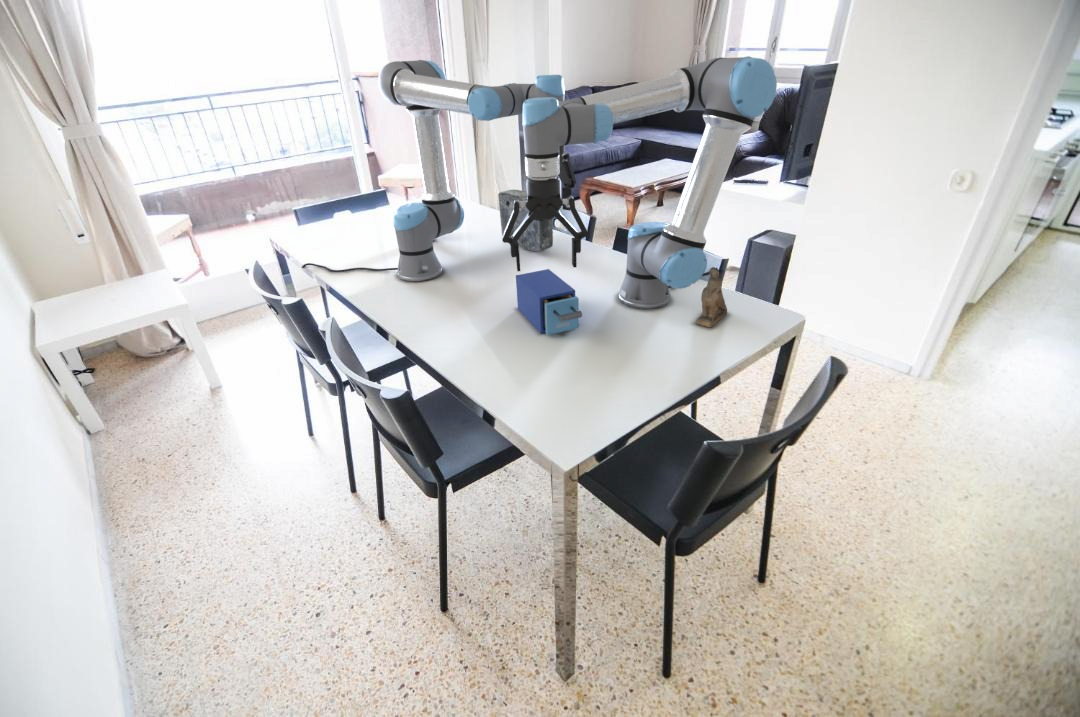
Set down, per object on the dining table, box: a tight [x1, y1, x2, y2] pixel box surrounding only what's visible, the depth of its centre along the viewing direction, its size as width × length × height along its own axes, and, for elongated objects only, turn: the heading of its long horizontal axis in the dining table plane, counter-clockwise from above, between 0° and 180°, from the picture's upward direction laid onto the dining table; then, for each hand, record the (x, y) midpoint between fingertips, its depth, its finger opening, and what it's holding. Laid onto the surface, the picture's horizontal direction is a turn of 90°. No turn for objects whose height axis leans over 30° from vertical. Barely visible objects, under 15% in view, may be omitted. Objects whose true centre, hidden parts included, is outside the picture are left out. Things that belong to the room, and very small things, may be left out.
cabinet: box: [515, 268, 576, 334], centre depth 141 cm, size 18×10×11 cm, turn 23°
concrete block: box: [497, 189, 554, 252], centre depth 191 cm, size 27×9×20 cm, turn 36°
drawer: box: [543, 294, 583, 336], centre depth 136 cm, size 22×9×9 cm, turn 23°
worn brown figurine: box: [695, 266, 728, 328], centre depth 135 cm, size 12×6×18 cm, turn 136°
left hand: (553, 215), depth 149 cm, fingers open, 13 cm apart
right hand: (546, 267), depth 121 cm, fingers open, 13 cm apart
